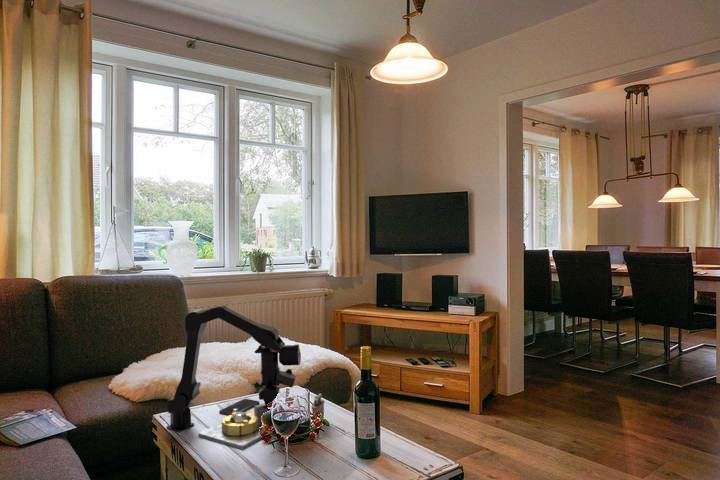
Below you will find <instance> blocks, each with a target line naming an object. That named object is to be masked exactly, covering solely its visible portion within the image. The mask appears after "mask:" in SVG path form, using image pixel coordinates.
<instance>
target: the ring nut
mask: <svg viewBox="0 0 720 480" xmlns="http://www.w3.org/2000/svg"><path fill="white" fill-rule="evenodd" d="M253 409H254V411H253V412H254V413H250V412H248V413H246V412H245V413H246V420H244V421H243V423H241V424H237V423H234V414H235V413H237V412H234V413H232V415H225V416H226V417H224V418H223V419H222V420H221V423H222V431H223V432H224V433H225V434H228V435H238V436H239V435H240V434H241V435H245V434H249V433H252V432H254V431H255V430H256V429H257V428H258V425H260V424H262V422H261V416H262V415H263V413H265V412H267V411H268V409H267V407H266V404H265V402H264V403H259V405H255V406H254V407H253Z"/></svg>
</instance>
